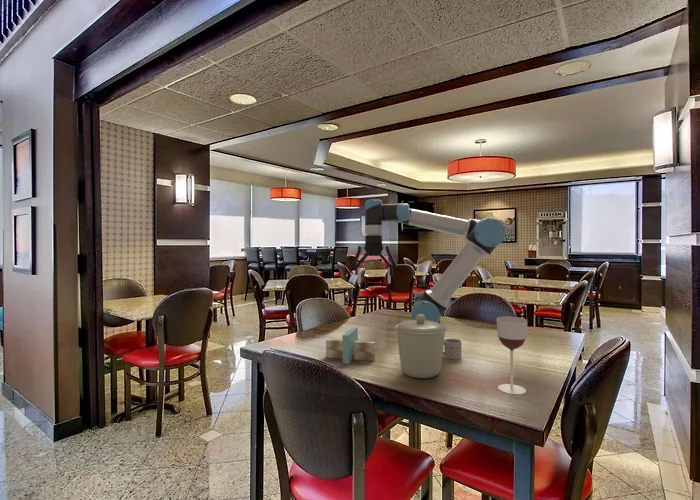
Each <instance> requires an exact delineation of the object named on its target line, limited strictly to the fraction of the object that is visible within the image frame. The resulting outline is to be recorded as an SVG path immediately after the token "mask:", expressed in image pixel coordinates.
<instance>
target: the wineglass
mask: <svg viewBox="0 0 700 500" xmlns="http://www.w3.org/2000/svg"><path fill="white" fill-rule="evenodd" d="M527 329H528V320H527V318H526V319H525V318H524V317H518V316H508V315H506V316H503V315H502V316H497V317H496V330H497V337H498V340H499V341H500V343H501V344H502V345H503V346H504V347H505V348H507V349H509V351H510V352H509V361H510V362H509V364H510V365H509V366H510V367H509V368H510V369H509V372H510V373H509V375H510V377H509V379H510V383H502V384H499V385H498V386H497V389H498V390H500V391H501V392H503V393H507V394H511V395H522V394H525V393H526V392H527V390H526V388H524V387H523V386H520V385H517V384H514V350H516V349H518V348H519V349H520V347H522V346H523V345H524V344H525V341H526V338H527V331H528V330H527Z"/></svg>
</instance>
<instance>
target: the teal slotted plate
mask: <svg viewBox="0 0 700 500" xmlns="http://www.w3.org/2000/svg"><path fill="white" fill-rule="evenodd" d="M358 328H359V327H354V326H353V327H351V328H350V329H348V330H346V331H345V333H343V334H342V335H341V336H342V337H341V340H342V344H343V359H342V364H343V365H345V364H346V365H349V364H351V362H352V361H353V359H352V349H353V348H354V342H355V341H359V336H358V335H359V332H358V331H359V330H358Z"/></svg>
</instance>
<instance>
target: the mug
mask: <svg viewBox="0 0 700 500" xmlns="http://www.w3.org/2000/svg"><path fill="white" fill-rule="evenodd" d="M462 353H463V351H462V340H461V339H457V338H446V339H445V338H444V346H443V355H442V356H444V358H445V359H447V360H461V359H462V355H463V354H462Z"/></svg>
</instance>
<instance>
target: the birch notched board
mask: <svg viewBox="0 0 700 500" xmlns="http://www.w3.org/2000/svg"><path fill="white" fill-rule="evenodd" d="M325 353H326V355H325V357H326V358H331V359H342V360H343V344H342V339H335V338H326V340H325ZM352 360H357V361H358V360H359V361H366V362H367V361H370V362H375V361H376V341H365V340H358V341H355V342H354V348H353V349H352Z"/></svg>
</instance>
